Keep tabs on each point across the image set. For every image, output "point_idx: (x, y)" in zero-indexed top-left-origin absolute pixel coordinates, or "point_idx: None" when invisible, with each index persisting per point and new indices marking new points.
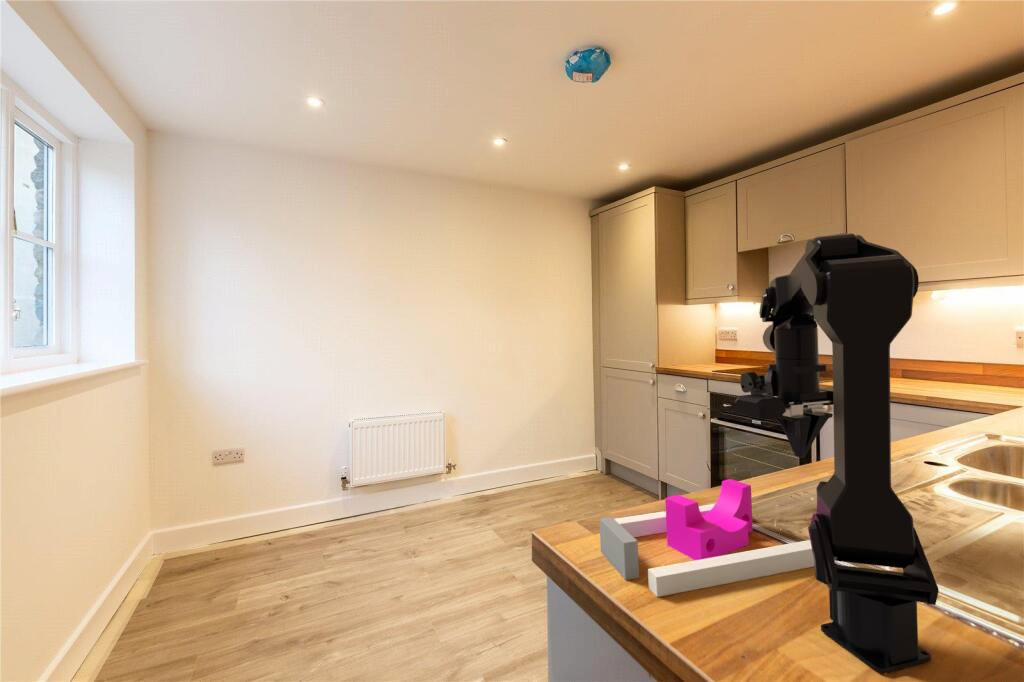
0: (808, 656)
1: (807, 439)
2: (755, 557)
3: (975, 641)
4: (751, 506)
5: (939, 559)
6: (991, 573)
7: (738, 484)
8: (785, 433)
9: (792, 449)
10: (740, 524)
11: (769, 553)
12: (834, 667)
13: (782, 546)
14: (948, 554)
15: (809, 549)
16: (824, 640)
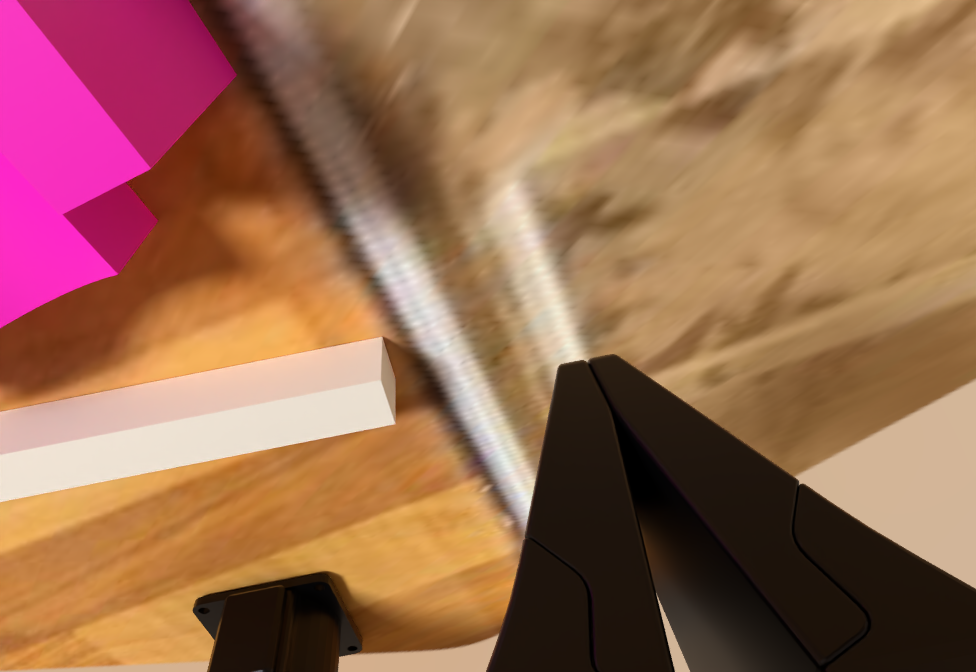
0: (133, 640)
1: (669, 622)
2: (83, 478)
3: (490, 604)
4: (197, 115)
5: (779, 370)
6: (816, 434)
7: (38, 129)
8: (521, 562)
9: (550, 406)
10: (80, 260)
11: (149, 459)
12: (172, 655)
13: (227, 418)
14: (842, 346)
15: (324, 435)
16: (190, 612)
